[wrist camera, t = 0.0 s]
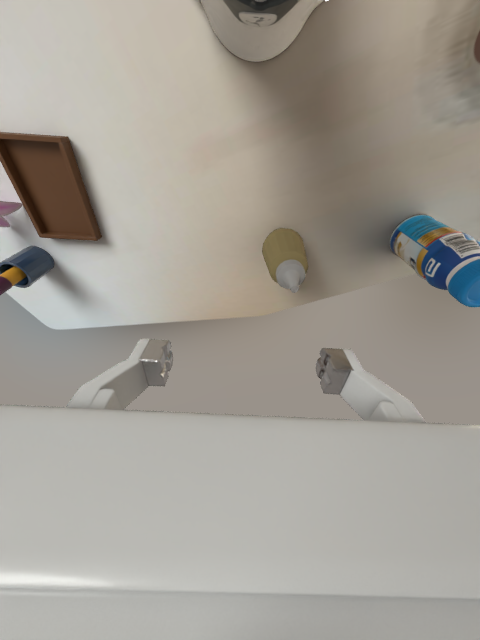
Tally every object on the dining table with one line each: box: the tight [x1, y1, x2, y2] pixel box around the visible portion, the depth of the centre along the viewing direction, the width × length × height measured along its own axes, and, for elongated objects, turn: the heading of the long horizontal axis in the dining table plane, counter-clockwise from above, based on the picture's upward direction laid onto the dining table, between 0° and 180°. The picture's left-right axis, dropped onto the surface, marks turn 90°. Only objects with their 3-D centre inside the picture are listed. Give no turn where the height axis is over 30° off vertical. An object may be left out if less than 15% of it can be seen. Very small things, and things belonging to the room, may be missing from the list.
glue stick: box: [0, 266, 27, 295], centre depth 46 cm, size 3×3×12 cm
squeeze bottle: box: [262, 228, 308, 293], centre depth 41 cm, size 8×8×18 cm
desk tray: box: [0, 132, 102, 241], centre depth 42 cm, size 16×11×2 cm
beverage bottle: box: [390, 215, 480, 307], centre depth 39 cm, size 8×8×20 cm
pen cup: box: [0, 246, 54, 288], centre depth 48 cm, size 6×6×8 cm
